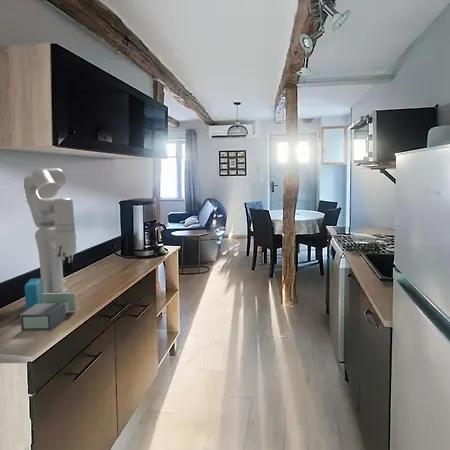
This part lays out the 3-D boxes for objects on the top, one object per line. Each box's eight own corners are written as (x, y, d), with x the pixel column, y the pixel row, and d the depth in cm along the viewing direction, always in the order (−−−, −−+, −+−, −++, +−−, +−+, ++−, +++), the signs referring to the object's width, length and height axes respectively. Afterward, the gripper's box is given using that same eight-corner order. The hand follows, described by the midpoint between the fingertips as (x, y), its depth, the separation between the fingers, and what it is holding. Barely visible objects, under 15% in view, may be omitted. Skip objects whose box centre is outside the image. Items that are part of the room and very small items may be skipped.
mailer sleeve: (38, 318, 152) (36, 303, 151) (65, 318, 152) (64, 303, 151) (21, 330, 140) (19, 314, 139) (51, 330, 140) (50, 314, 139)
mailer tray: (44, 310, 159) (42, 293, 158) (75, 310, 158) (74, 292, 157) (18, 329, 140) (16, 309, 139) (54, 329, 140) (52, 308, 139)
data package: (33, 304, 168) (31, 277, 167) (44, 303, 169) (42, 277, 168) (26, 314, 157) (24, 285, 155) (38, 313, 158) (36, 284, 156)
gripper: (64, 226, 168) (67, 268, 170) (47, 231, 153) (51, 276, 155) (81, 225, 167) (84, 267, 169) (66, 230, 152) (70, 276, 155)
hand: (68, 271), depth 162 cm, fingers closed
